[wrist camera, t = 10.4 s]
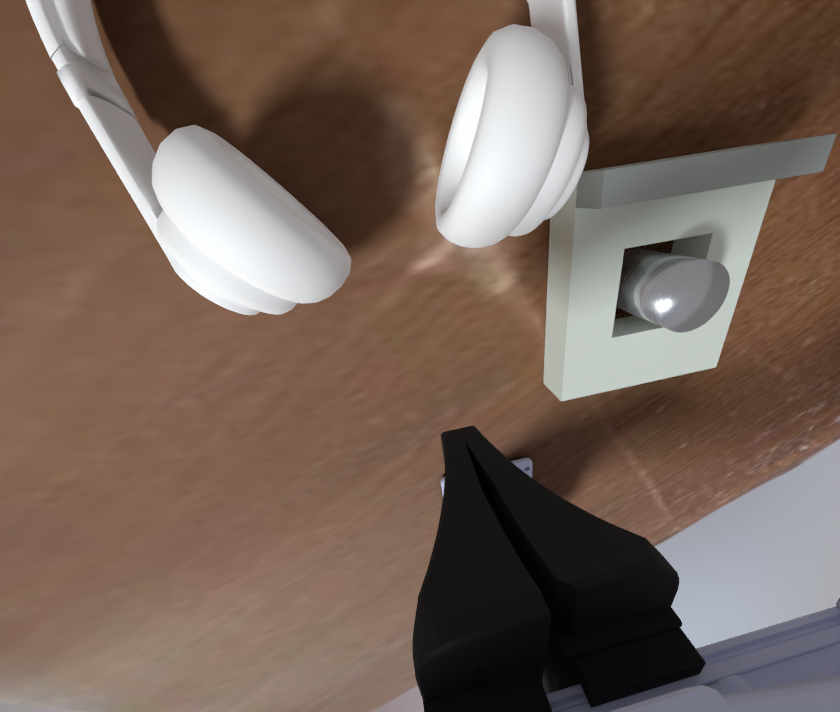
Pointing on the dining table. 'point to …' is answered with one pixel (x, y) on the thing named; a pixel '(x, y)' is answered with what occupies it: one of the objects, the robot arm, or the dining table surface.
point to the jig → (647, 224)
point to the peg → (671, 288)
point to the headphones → (284, 215)
